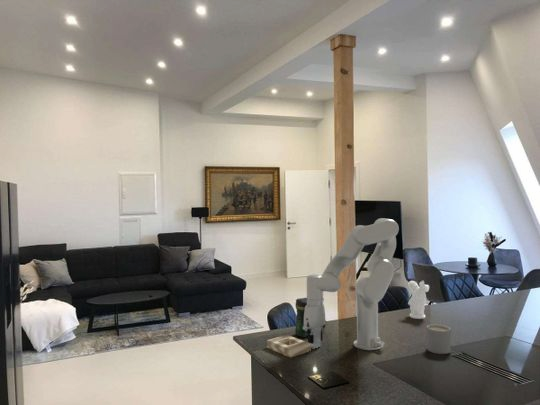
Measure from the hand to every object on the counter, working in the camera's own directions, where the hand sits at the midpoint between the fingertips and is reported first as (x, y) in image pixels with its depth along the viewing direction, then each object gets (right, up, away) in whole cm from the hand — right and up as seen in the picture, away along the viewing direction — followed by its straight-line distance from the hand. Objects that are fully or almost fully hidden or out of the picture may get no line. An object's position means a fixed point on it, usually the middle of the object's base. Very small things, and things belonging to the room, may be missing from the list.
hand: (315, 341), depth 195 cm
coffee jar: (-3, -3, +18) cm, 19 cm away
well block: (-12, -3, -2) cm, 13 cm away
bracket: (-1, -3, +1) cm, 3 cm away
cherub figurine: (+66, -2, +49) cm, 82 cm away
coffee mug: (+57, -3, -3) cm, 57 cm away
